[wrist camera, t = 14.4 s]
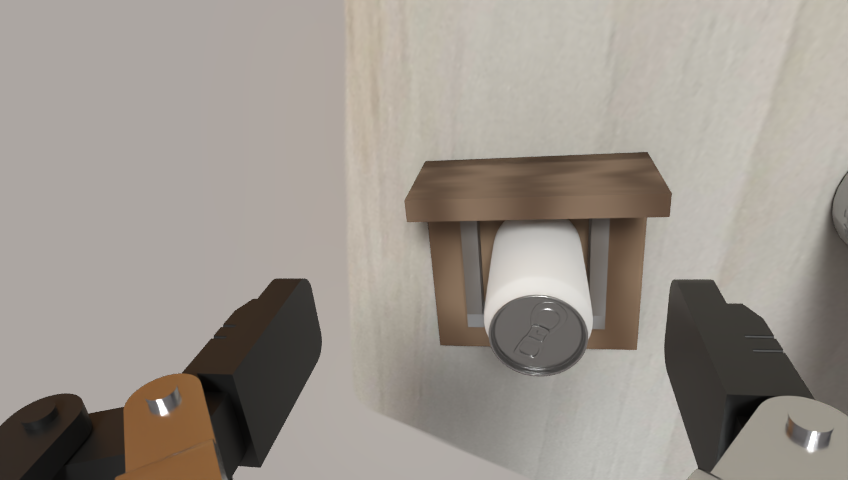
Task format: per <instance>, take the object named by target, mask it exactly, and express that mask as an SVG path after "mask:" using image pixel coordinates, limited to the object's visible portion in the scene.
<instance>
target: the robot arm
mask: <svg viewBox="0 0 848 480" xmlns="http://www.w3.org/2000/svg"><path fill="white" fill-rule="evenodd" d="M832 215H833V221H834V226H835V228H836V230H837V232H838V234H839V236H840V237H841V239H842V240H843V241H844V242H845V243H846V244H847V245H848V173H847V175H846V176H845V178H844V179H843V181H842V182H841V184H840V186H839V187H838V190H837V193H836V195H835V198H834V201H833V211H832ZM321 346H322V337H321V331H320V326H319V321H318V316H317V312H316V307H315V302H314V297H313V293H312V288H311V285H310V283H309V281H308V280H307V279H274V280H273V281H272V282H271V283H270V284H269V285H268V287H267V288H266V289H265V290H264V291H263V293H262V294H261V295H260V296H259V298H258V299H252V300H251V301H249V302H248V303H246V304H245V305H243V306H242V307H240V308H239V309H237V310H235V311H234V313H233V314H232V315H231V316H230V317H229V318H228V320H227V321H226V322H225V323H224V325H223V327H221V328H220V329H219V330H218V331H217V333H216V334H215V335H214V339H211V340H210V341H209V342H208V343H207V344H206V345H205V347H204V348H203V349H202V350H201V351H200V353H199V354H198V355H197V356H196V357H195V358H194V360H193V361H192V362H191V363H190V364H189V365H188V367H187V368H186V369H185V370H184V371H183V372H182V374H181V373H179V374H172V375H167V376H163V377H161V378H158V379H155V380H153V381H151V382H149V383H147V384H145V385H144V386H142V387H141V388H139V389H138V390H137V391H136V392H134V393H133V394H132V395H131V396H130V397H129V399H128V400H127V402H126V403H125V406H124V407H121V408H116V409H110V410H105V411H100V412H95V413H90V414H88V412H87V410H86V408H85V405H84V403H83V401H82V399H81V398H80V397H79V396H77V395H74V394H57V395H52V396H48V397H45V398H42V399H39V400H37V401H35V402H32V403H31V404H29V405H27V406H25V407H23V408H22V409H20V410H18V411H17V412H16V413H14V414H13V415H12V416H11V417H10V418H8V419H7V420H6V421H5V422H4V423H3V424H2V425H1V426H0V480H233V477H232V476H233V474H234V472H235V471H236V469H237V467H238V466H247V467H261V466H262V464H263V462H264V460H265V458H266V456H267V454H268V453H269V451H270V449H271V447H272V445H273V443H274V441H275V440H276V438H277V436H278V434H279V432H280V430H281V428H282V427H283V425H284V423H285V421H286V419H287V417H288V415H289V413H290V412H291V410H292V408H293V406H294V404H295V402H296V400H297V399H298V397H299V395H300V393H301V391H302V389H303V387H304V386H305V384H306V382H307V380H308V378H309V376H310V375H311V373H312V371H313V369H314V367H315V365H316V363H317V362H318V359H319V357H320V353H321ZM664 352H665V363H666V369H667V373H668V376H669V379H670V382H671V385H672V388H673V391H674V394H675V397H676V401H677V404H678V407H679V410H680V413H681V416H682V419H683V422H684V425H685V428H686V431H687V435H688V438H689V441H690V444H691V447H692V450H693V453H694V456H695V459H696V462H697V465H698V469H696V470H695V471H694V472H693V473H692V474H691V475H690V476H689V477H688V479H687V480H848V416H847V415H845V414H844V413H842V412H841V411H839V410H837V409H835V408H834V407H832V406H829V405H827V404H825V403H822V402H819V401H816V400H815V399H814V397H813V396H812V394H811V393H810V391H809V390H808V388H807V387H806V385H805V383H804V382H803V380H802V379H801V377H800V376H799V374H798V372H797V371H796V369H795V368H794V366H793V365H792V363H791V361H790V360H789V358H788V357H787V355H786V354H785V353H783V349H782V347H781V346H780V344H779V343H778V341H777V340H776V339H774V335H773V333H772V332H771V330H770V329H769V327H768V326H767V324H766V322H765V321H764V319H763V318H762V317H760V316H759V315H757V314H756V313H755V312H753V311H752V310H750V309H749V308H748V307H746V306H745V305H743V304H727V303H726V301H725V300H724V298H723V296H722V294H721V293H720V291H719V289H718V287H717V285H716V284H715V282H714V281H713V280H673V281H672V283H671V286H670V293H669V303H668V313H667V323H666V333H665V345H664Z"/></svg>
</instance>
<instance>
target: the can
mask: <svg viewBox="0 0 848 480" xmlns="http://www.w3.org/2000/svg"><path fill="white" fill-rule="evenodd" d="M484 325H485V330H486V333H487V335H488V337H489V342H490V345H491V348H492V350H493V352H494V354H495V355H496V356H497V358H498V359H499V360H500V361H501V362H502V363H503V364H505V365H506V366H507V367H509V368H511V369H512V370H514V371H517V372H519V373H522V374H526V375H530V376H550V375H555V374H558V373H561V372H563V371H566V370H567V369H569V368H571V367H572V366H573V365H575V364H576V363H577V362H578V361H579V360H580V359H581V357H582V356H583V354H584V352H585V350H586V348H587V344H588V339H589V337H590V335H591V331H592V326H593V315H592V307H591V300H590V294H589V288H588V281H587V275H586V270H585V264H584V258H583V252H582V247H581V242H580V238H579V235H578V232H577V230H576V228H575V227H574V225H573V224H572V223H571V222H570V220H569V219H539V220H505V221H504V222H503V223H502V225H501V226H500V227H499V229H498V231H497V233H496V236H495V239H494V244H493V251H492V257H491V264H490V271H489V278H488V285H487V293H486V300H485V309H484Z"/></svg>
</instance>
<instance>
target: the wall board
mask: <svg viewBox="0 0 848 480" xmlns="http://www.w3.org/2000/svg"><path fill="white" fill-rule="evenodd" d="M671 196H672V193H671V191H670V190H669V188H668V186H667V184H666V183H665V181H664V179H663V178H662V176H661V174H660V173H659V171H658V169H657V168H656V166H655V164H654V162H653V161H652V159H651V157H650V156H649V154H648V152H639V153H615V154H591V155H567V156H542V157H518V158H494V159H470V160H446V161H425V163H424V165H423V167H422V169H421V171H420V173H419V175H418V176H417V178H416V180H415V182H414V184H413V186H412V188H411V189H410V191H409V193H408V195H407V197H406V199H405V209H406V217H407V222H428V229H429V238H430V248H431V258H432V267H433V277H434V287H435V296H436V306H437V316H438V325H439V335H440V345H454V346H491V345H490V342H489V337H488V335H487V333H486V330H485V325H484V309H485V300H486V293H487V285H488V278H489V271H490V264H491V257H492V251H493V244H494V239H495V236H496V233H497V231H498V229H499V227H500V226H501V225H502V223H503V222H504V221H505V220H539V219H569V220H570V222H571V223H572V224H573V225H574V227H575V228H576V230H577V232H578V235H579V238H580V242H581V247H582V252H583V258H584V264H585V270H586V275H587V281H588V288H589V294H590V300H591V307H592V315H593V326H592V331H591V335H590V337H589V339H588V344H587V348H586V349H624V350H637V339H638V326H639V313H640V300H641V287H642V274H643V261H644V248H645V235H646V221H647V217H670V206H671Z"/></svg>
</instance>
